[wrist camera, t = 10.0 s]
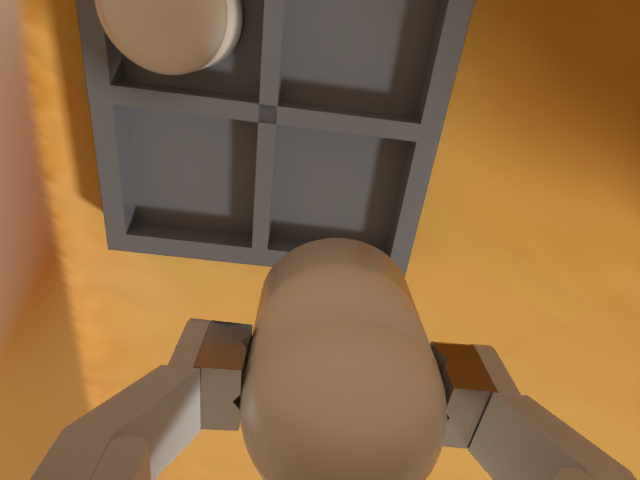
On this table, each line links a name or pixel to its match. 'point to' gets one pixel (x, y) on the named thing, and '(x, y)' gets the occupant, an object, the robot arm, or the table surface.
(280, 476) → the egg
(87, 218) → the table surface
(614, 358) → the table surface
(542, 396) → the table surface
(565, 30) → the table surface
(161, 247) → the carton
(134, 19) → the resting egg
